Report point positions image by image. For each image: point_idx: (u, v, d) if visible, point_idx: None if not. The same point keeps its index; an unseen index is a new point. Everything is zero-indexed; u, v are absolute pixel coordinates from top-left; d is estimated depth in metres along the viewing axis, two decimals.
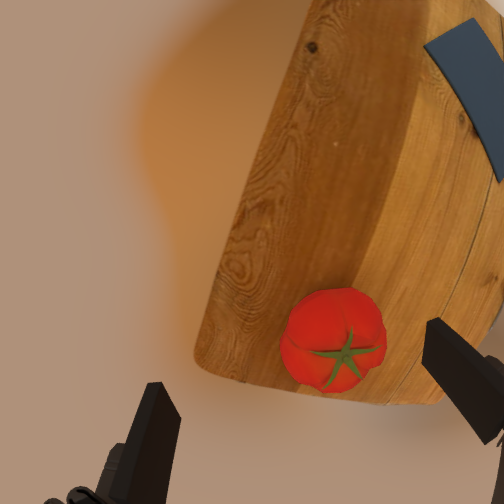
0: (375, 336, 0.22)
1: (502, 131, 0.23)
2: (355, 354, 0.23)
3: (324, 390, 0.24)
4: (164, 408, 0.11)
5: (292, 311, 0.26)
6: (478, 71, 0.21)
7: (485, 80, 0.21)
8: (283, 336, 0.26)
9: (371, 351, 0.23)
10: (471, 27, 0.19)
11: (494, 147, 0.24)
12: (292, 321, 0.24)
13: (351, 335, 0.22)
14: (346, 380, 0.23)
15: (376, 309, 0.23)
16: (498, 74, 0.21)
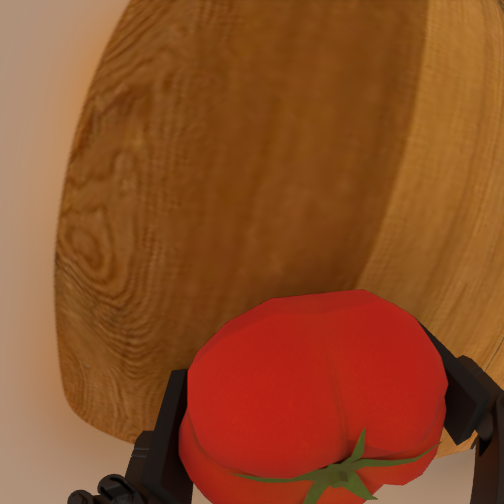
0: (428, 431, 0.06)
1: None
2: (364, 466, 0.07)
3: None
4: None
5: (197, 355, 0.09)
6: None
7: None
8: (187, 407, 0.10)
9: (410, 462, 0.06)
10: None
11: None
12: None
13: (359, 450, 0.05)
14: None
15: (434, 353, 0.07)
16: None
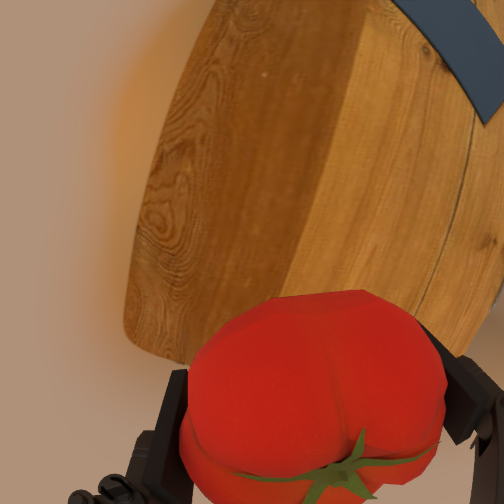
0: (427, 431, 0.06)
1: (480, 69, 0.19)
2: (364, 465, 0.07)
3: None
4: None
5: (197, 355, 0.09)
6: (443, 7, 0.17)
7: (452, 16, 0.17)
8: (187, 407, 0.10)
9: (410, 461, 0.06)
10: None
11: (472, 84, 0.19)
12: None
13: (359, 450, 0.05)
14: None
15: (434, 353, 0.07)
16: (469, 14, 0.16)
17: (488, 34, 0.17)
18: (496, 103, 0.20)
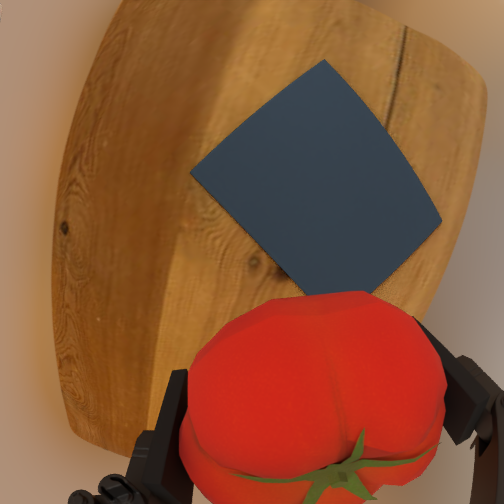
0: (427, 432, 0.06)
1: (348, 254, 0.25)
2: (364, 466, 0.07)
3: None
4: None
5: (197, 356, 0.09)
6: (304, 171, 0.23)
7: (319, 181, 0.24)
8: (187, 408, 0.10)
9: (410, 462, 0.06)
10: (309, 83, 0.21)
11: (323, 284, 0.26)
12: None
13: (358, 451, 0.05)
14: None
15: (434, 354, 0.07)
16: (360, 155, 0.23)
17: (392, 178, 0.24)
18: (366, 291, 0.27)
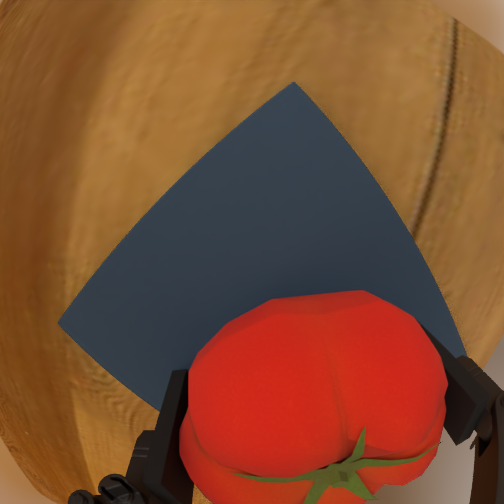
0: (428, 431, 0.06)
1: None
2: (365, 466, 0.07)
3: None
4: None
5: (197, 355, 0.09)
6: None
7: None
8: (188, 407, 0.10)
9: (411, 462, 0.06)
10: (255, 146, 0.10)
11: None
12: (188, 388, 0.08)
13: (359, 450, 0.05)
14: None
15: (434, 353, 0.07)
16: None
17: None
18: None
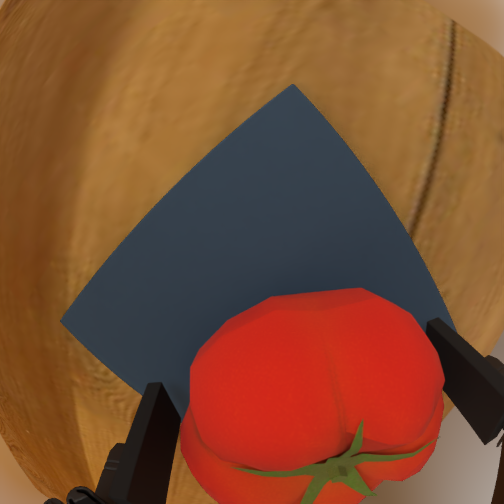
0: (425, 426, 0.06)
1: None
2: (364, 461, 0.07)
3: None
4: (164, 408, 0.11)
5: (199, 352, 0.09)
6: None
7: None
8: (189, 403, 0.10)
9: (409, 457, 0.06)
10: (255, 147, 0.10)
11: None
12: None
13: (357, 443, 0.06)
14: None
15: (431, 349, 0.07)
16: None
17: None
18: None
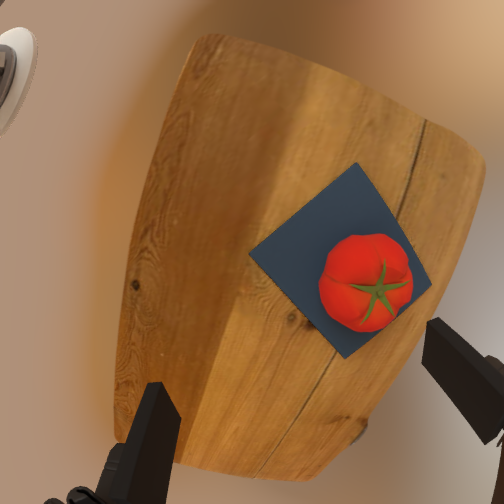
0: (404, 271, 0.25)
1: None
2: (387, 290, 0.26)
3: (361, 326, 0.27)
4: (164, 408, 0.11)
5: (330, 253, 0.29)
6: None
7: None
8: (322, 277, 0.29)
9: (402, 286, 0.25)
10: (344, 185, 0.30)
11: (339, 332, 0.35)
12: (332, 259, 0.27)
13: (384, 267, 0.25)
14: (381, 315, 0.26)
15: (402, 249, 0.26)
16: None
17: None
18: (369, 336, 0.35)
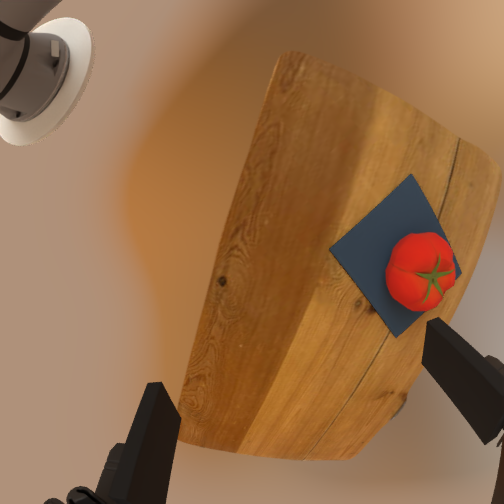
0: (451, 261, 0.30)
1: None
2: (438, 276, 0.31)
3: (421, 306, 0.31)
4: (164, 408, 0.11)
5: (396, 248, 0.33)
6: None
7: None
8: (389, 268, 0.34)
9: (449, 273, 0.30)
10: (402, 193, 0.34)
11: (393, 314, 0.39)
12: (400, 253, 0.32)
13: (439, 259, 0.29)
14: (435, 297, 0.31)
15: (448, 244, 0.31)
16: None
17: None
18: (415, 317, 0.39)
